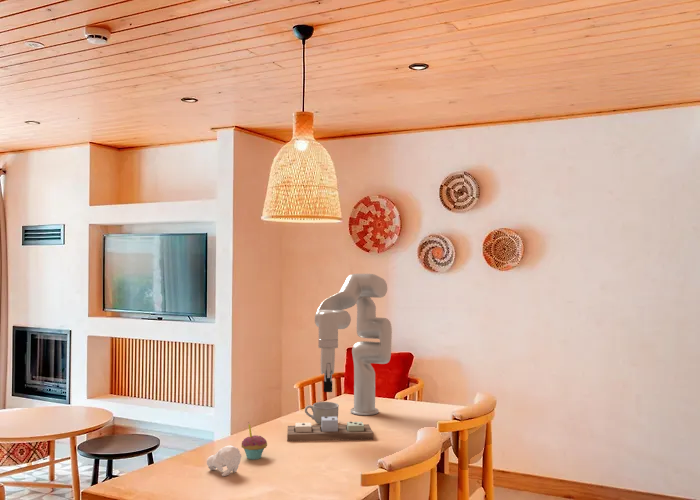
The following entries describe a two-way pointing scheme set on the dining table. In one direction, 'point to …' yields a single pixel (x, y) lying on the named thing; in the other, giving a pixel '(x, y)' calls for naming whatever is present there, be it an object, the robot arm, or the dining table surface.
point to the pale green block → (355, 426)
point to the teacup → (323, 410)
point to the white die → (329, 424)
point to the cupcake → (254, 445)
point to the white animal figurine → (225, 460)
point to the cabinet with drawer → (329, 434)
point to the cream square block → (302, 427)
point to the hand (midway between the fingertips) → (328, 391)
